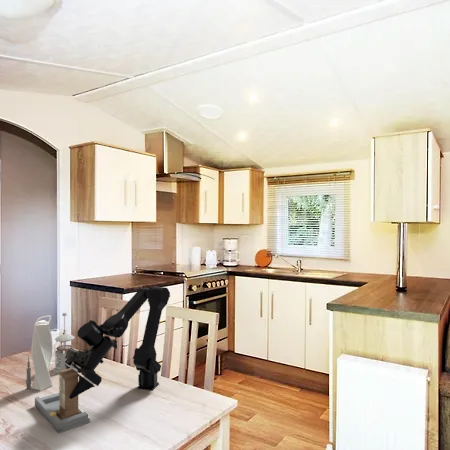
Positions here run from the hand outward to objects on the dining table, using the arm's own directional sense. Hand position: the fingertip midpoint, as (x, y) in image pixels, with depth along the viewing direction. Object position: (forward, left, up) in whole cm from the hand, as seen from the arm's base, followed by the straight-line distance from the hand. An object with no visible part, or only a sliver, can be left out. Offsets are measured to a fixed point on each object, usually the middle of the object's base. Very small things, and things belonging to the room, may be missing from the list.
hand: (64, 393), depth 129 cm
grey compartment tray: (+4, -4, -9) cm, 10 cm away
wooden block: (-1, -1, -8) cm, 8 cm away
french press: (+30, -41, -9) cm, 52 cm away
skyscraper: (+26, -21, -9) cm, 35 cm away
